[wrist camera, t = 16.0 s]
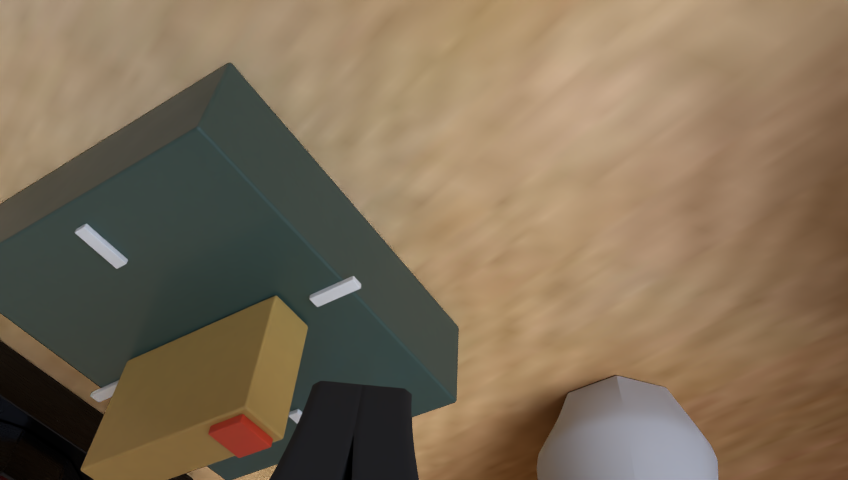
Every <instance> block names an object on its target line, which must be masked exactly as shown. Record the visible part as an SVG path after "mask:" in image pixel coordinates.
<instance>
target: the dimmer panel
mask: <svg viewBox="0 0 848 480" xmlns="http://www.w3.org/2000/svg"><path fill="white" fill-rule="evenodd" d="M273 296H278V297H279V298H280V299H281V300H282V301H283V302H284V303H285V304H286V305H287V306H288V307H289V308H290V309H291V310H292V311H293V312H294V313H295V314H296V315H297V316H298V317H299V318H300V319H301V320H302V321H303V322H304V323H305V324H306V325H307V326H308V330H307V335H306V339H305V344H304V348H303V353H302V357H301V362H300V366H299V371H298V375H297V380H296V384H295V389H294V393H293V398H292V402H291V407H290V411H289V416H288V420H287V425H286V429H285V434H284V437H283V439H281V440H278V441H276V442H273V443H272V446H271V447H270V448H267V449H264V450H261V451H259V452H256V453H253V454H250V455H247V456H244V457H241V458H238V457H237V456H233V457H230V458H228V459H225V460H222V461H219V462H216V463H213V464H211V465H208V466H207V467H209V468H210V469H211V470H213V471H214V472H215V473H217V474H218V475H220V476H221V477H222V478H224V479H225V480H233V479H236V478H239V477H242V476H245V475H247V474H250V473H253V472H256V471H259V470H262V469H265V468H268V467H270V466H273V465H276V464H278V463H279V461H280V459H281V457H282V455H283V453H284V451H285V449H286V447H287V445H288V443H289V441H290V439H291V437H292V435H293V433H294V431H295V428H296V426H297V424H298V422H299V419H300V417H301V415H302V412H303V410H304V407H305V405H306V402H307V400H308V397H309V394H310V391H311V388H312V385H313V384H315V383H317V382H319V381H331V382H341V383H352V384H362V385H373V386H383V387H394V388H405V389H406V390H407V391H408V392H410V393H411V394H412V403H411V412H412V417H414V416H417V415H420V414H423V413H426V412H429V411H432V410H435V409H437V408H440V407H443V406H446V405H449V404H452V403H455V402H456V400H457V366H458V331H459V329H458V326H457V325H456V324H455V323H454V321H453V320H452V319H451V318H450V317H449V316H448V315H447V313H446V312H445V311H444V310H443V309H442V308H441V306H440V305H439V304H438V303H437V302H436V301H435V299H434V298H433V297H432V296H431V295H430V294H429V292H428V291H427V290H426V289H425V288H424V287H423V285H422V284H421V283H420V282H419V281H418V280H417V278H416V277H415V276H414V275H413V274H412V273H411V271H410V270H409V269H408V268H407V267H406V266H405V265H404V263H403V262H402V261H401V260H400V259H399V258H398V256H397V255H396V254H395V253H394V252H393V251H392V249H391V248H390V247H389V246H388V245H387V244H386V242H385V241H384V240H383V239H382V238H381V237H380V235H379V234H378V233H377V232H376V231H375V230H374V228H373V227H372V226H371V225H370V224H369V223H368V221H367V220H366V219H365V218H364V217H363V216H362V215H361V213H360V212H359V211H358V210H357V209H356V208H355V206H354V205H353V204H352V203H351V202H350V201H349V199H348V198H347V197H346V196H345V195H344V194H343V192H342V191H341V190H340V189H339V188H338V187H337V185H336V184H335V183H334V182H333V181H332V180H331V178H330V177H329V176H328V175H327V174H326V173H325V171H324V170H323V169H322V168H321V167H320V166H319V164H318V163H317V162H316V161H315V160H314V159H313V158H312V156H311V155H310V154H309V153H308V152H307V151H306V149H305V148H304V147H303V146H302V145H301V144H300V142H299V141H298V140H297V139H296V138H295V137H294V135H293V134H292V133H291V132H290V131H289V130H288V128H287V127H286V126H285V125H284V124H283V123H282V121H281V120H280V119H279V118H278V117H277V116H276V114H275V113H274V112H273V111H272V110H271V109H270V108H269V106H268V105H267V104H266V103H265V102H264V101H263V99H262V98H261V97H260V96H259V95H258V94H257V92H256V91H255V90H254V89H253V88H252V87H251V85H250V84H249V83H248V82H247V81H246V80H245V78H244V77H243V76H242V75H241V74H240V73H239V71H238V70H237V69H236V68H235V67H234V66H233V64H231V63H228V64H226V65H224V66H222V67H221V68H219V69H218V70H216V71H214V72H213V73H211V74H210V75H208V76H206V77H205V78H203V79H201V80H200V81H198V82H197V83H195V84H193V85H192V86H190V87H189V88H187V89H185V90H184V91H182V92H181V93H179V94H177V95H176V96H174V97H172V98H171V99H169V100H168V101H166V102H164V103H163V104H161V105H160V106H158V107H156V108H155V109H153V110H151V111H150V112H148V113H147V114H145V115H143V116H142V117H140V118H139V119H137V120H135V121H134V122H132V123H131V124H129V125H127V126H126V127H124V128H122V129H121V130H119V131H118V132H116V133H114V134H113V135H111V136H110V137H108V138H106V139H105V140H103V141H101V142H100V143H98V144H97V145H95V146H93V147H92V148H90V149H89V150H87V151H85V152H84V153H82V154H80V155H79V156H77V157H76V158H74V159H72V160H71V161H69V162H68V163H66V164H64V165H63V166H61V167H60V168H58V169H56V170H55V171H53V172H51V173H50V174H48V175H47V176H45V177H43V178H42V179H40V180H39V181H37V182H35V183H34V184H32V185H30V186H29V187H27V188H26V189H24V190H22V191H21V192H19V193H18V194H16V195H14V196H13V197H11V198H10V199H8V200H6V201H5V202H3V203H1V204H0V313H1V314H2V315H3V316H5V317H6V318H8V319H9V320H10V321H12V322H13V323H14V324H16V325H17V326H18V327H20V328H21V329H22V330H24V331H25V332H26V333H28V334H29V335H30V336H32V337H33V338H35V339H36V340H37V341H39V342H40V343H41V344H43V345H44V346H45V347H47V348H48V349H49V350H51V351H52V352H53V353H55V354H56V355H58V356H59V357H60V358H62V359H63V360H64V361H66V362H67V363H68V364H70V365H71V366H72V367H74V368H75V369H76V370H78V371H79V372H80V373H82V374H83V375H85V376H86V377H87V378H89V379H90V380H91V381H93V382H94V383H95V384H97V385H98V386H99V387H101V388H100V389H98V390H95V391H93V392H92V393H91V395H90V397H92V398H93V399H95V400H96V401H97V402H101V401H103V400H106V399H108V398H110V397H112V395H113V393H114V391H115V388H116V386H117V384H118V382H119V379H120V377H121V375H122V372H123V370H124V368H125V366H126V363H127V362H128V361H129V360H131V359H133V358H135V357H138V356H140V355H142V354H144V353H147V352H149V351H151V350H153V349H156V348H158V347H160V346H162V345H165V344H167V343H169V342H171V341H174V340H176V339H178V338H180V337H183V336H185V335H187V334H189V333H192V332H194V331H196V330H198V329H201V328H203V327H205V326H207V325H210V324H212V323H214V322H216V321H219V320H221V319H223V318H225V317H228V316H230V315H232V314H234V313H237V312H239V311H241V310H243V309H246V308H248V307H250V306H252V305H255V304H257V303H259V302H261V301H264V300H266V299H268V298H270V297H273Z"/></svg>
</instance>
